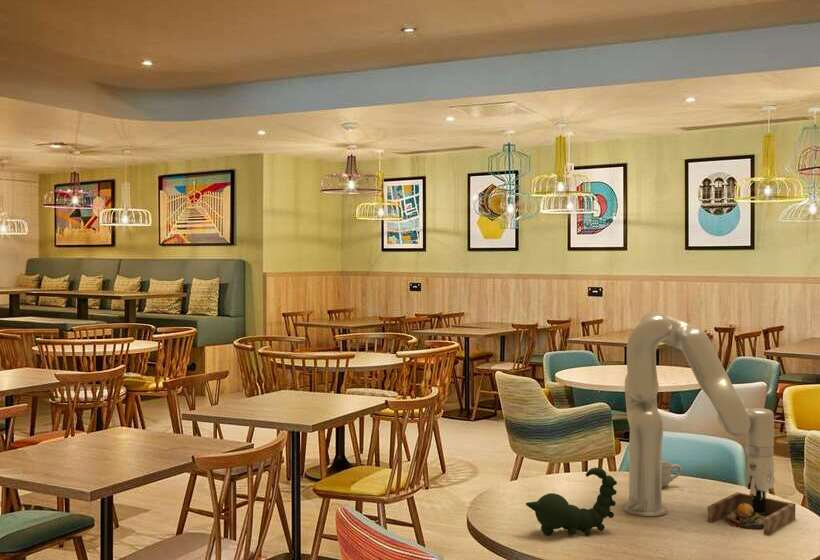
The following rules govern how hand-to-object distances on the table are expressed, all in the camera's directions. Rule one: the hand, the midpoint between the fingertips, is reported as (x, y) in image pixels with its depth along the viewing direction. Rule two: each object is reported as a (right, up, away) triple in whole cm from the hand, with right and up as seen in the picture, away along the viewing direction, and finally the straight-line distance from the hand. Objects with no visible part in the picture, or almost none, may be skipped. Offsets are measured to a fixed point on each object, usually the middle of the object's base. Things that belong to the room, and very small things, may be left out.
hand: (758, 512), depth 252 cm
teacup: (-20, -1, +33) cm, 38 cm away
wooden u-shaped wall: (-4, -1, -4) cm, 5 cm away
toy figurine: (-59, -2, -15) cm, 61 cm away
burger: (-6, -2, -6) cm, 9 cm away
